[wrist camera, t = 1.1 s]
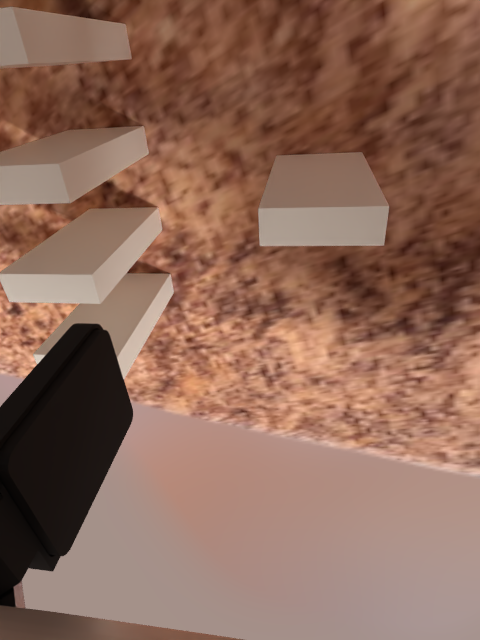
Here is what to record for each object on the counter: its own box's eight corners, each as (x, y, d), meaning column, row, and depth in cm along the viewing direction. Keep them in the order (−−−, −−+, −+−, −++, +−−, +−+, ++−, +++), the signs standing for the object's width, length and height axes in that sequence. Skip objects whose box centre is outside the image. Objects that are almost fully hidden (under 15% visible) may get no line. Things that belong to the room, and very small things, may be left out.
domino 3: (89, 208, 28) (-3, 273, 20) (158, 207, 27) (91, 274, 19) (96, 230, 29) (9, 302, 21) (162, 229, 28) (100, 303, 20)
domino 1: (41, 32, 22) (-115, 20, 14) (125, 24, 22) (12, 6, 13) (50, 65, 23) (-92, 73, 15) (132, 59, 23) (29, 63, 14)
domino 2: (68, 129, 25) (-50, 168, 17) (143, 125, 24) (58, 163, 16) (75, 156, 26) (-33, 205, 18) (148, 153, 25) (70, 203, 17)
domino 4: (107, 273, 31) (32, 354, 22) (170, 273, 30) (116, 357, 22) (112, 291, 32) (42, 376, 23) (173, 292, 31) (123, 380, 22)
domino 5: (276, 155, 24) (258, 208, 16) (362, 151, 23) (389, 206, 15) (276, 182, 25) (259, 246, 17) (359, 180, 24) (383, 245, 16)
